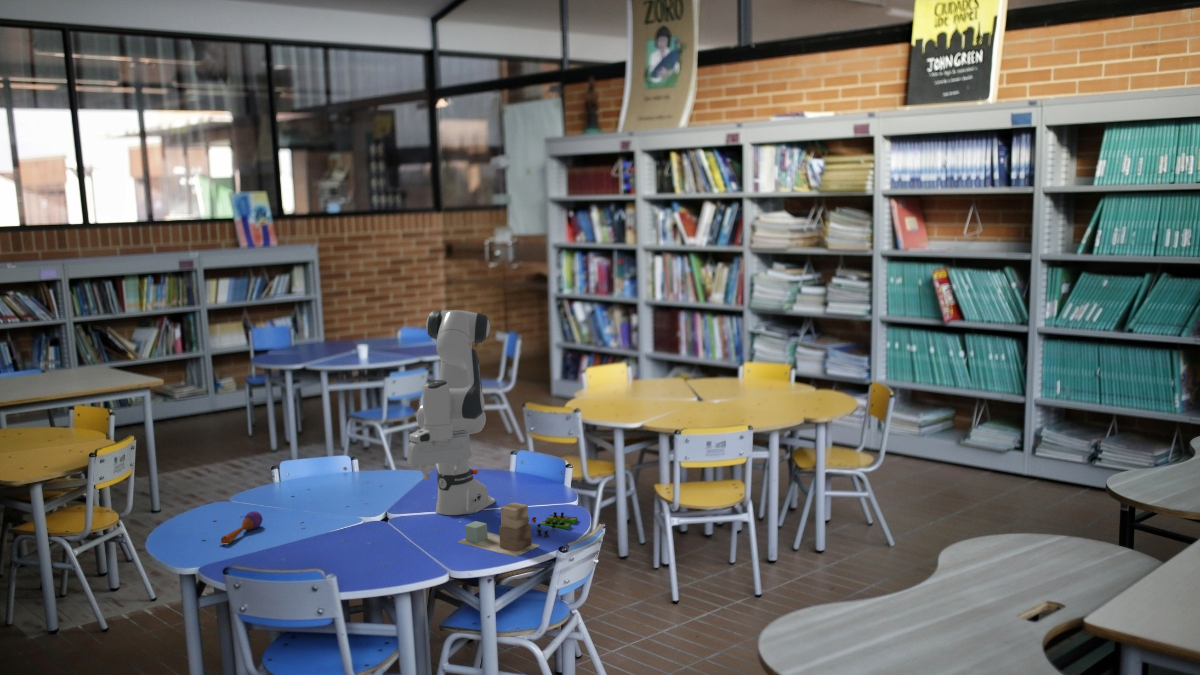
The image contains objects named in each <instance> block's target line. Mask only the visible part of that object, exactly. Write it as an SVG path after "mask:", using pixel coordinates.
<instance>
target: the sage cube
mask: <svg viewBox="0 0 1200 675" xmlns="http://www.w3.org/2000/svg"><path fill="white" fill-rule="evenodd" d="M487 532H488V524H487V523H485V522H482V521H478V520H477V521H476V520H475V521H473V522H470V523H467V524H465V525H464V534H465V538H464V539H466V541H470V542H474V543H479V542H481V541H483V540H486V539H488V535H487Z"/></svg>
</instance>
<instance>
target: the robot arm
mask: <svg viewBox="0 0 1200 675" xmlns="http://www.w3.org/2000/svg"><path fill="white" fill-rule="evenodd" d="M425 329H426V331H427V335H428V336H429V337H430V339H433V340H436V346H435V347H436V354H437V355H438V357H439V358H440V364H439V365H440V366H439V378H438V379H434V380H430V381H427V382H426V383H425V384H424V385H423V389H422V404H421V405H420V406H419V408H418V410H417V411H416V412H417V413H416V417H415V418H416V422H417V426H418V427H419V428H420V429H418V430H415V431H414V432H412V433H410V434H409V435H408V438H409V441H410V442H409V443H408V444H407V445H408V446H407V453H406V454H407V456H406V459H407V464H408V466H410V467H412V468H415V467H418V469H419V470H420V472H421V473H422V475H423V476H422V477H423V478H422V479H423V480H425V481H427V480H431V478H430V477H431V475H430V473H429V472H427V471H426V469H427V466H431V465H436V464H437V472H436V478H437V499H436V500H437V502H436V504H435V512H436V513H438V514H440V515H444V516H445V515H446V516H459V515H471V514H473V513H478V512H480V511H482V510H483V509H485V508H487V507H489V506H490V505H493V504H494V503H495V502H496V499H495V498H494V497H492V496H490V495H489V491H488V488H487V486H486V485H485V484H483V483H482V482H481V481H479V480H477V479H476V478H474V475H475V476H476V475H478V474H479V469H478V468H470V458H471V456H472V450H471V444H470V439H471V436H470V434H471V435H473V434H477V433H480V432H481V431H482V430H483V429H484V427H485V425H486V420H487V417H486V413H485V403H486V402H485V398H484V395H483V388H482V387H483V384H482V376H481V373H482V372H481V367H480V359H479V355H478V352H477V350H476V349H474V348H473V346H472V343H474V346H475V347H478V345H479V344H482V343H483V342H485V341H486V340H487V337H488V336H489V334H490V331H491V324H490V321H489V318H488V316H487V314H484V313H482V312H474V311H473V312H472V311H467V310H456V309H454V310H442V309H436V310H432V311H431V312H429V314H428V317H427V318H426V323H425Z"/></svg>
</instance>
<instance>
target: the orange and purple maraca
mask: <svg viewBox="0 0 1200 675" xmlns="http://www.w3.org/2000/svg"><path fill="white" fill-rule="evenodd" d="M241 523H242V524H241V526H240V527H238V528H236V529H235V530H233V531H230V532H229V533H227V534H225V535H224V536H222V537H221V539H220V542H221V544H222V543H228V544H229V545H230V544H231V543H232V542H233V541H234V540H235V539H236V538H237V537H238V536H239V535H240V534H241V533H242V531H244V530H245V531H246V530H247V531H248V530H255V529H257V528H259V527H260V526H261V525H262V523H263V516H262V514H261V513H260V512H258V511H257V510H256V511H255V510H254V511H253V510H251V511H249V512H247V513H246V514H245V516H244V518H243V520H242V522H241Z"/></svg>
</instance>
